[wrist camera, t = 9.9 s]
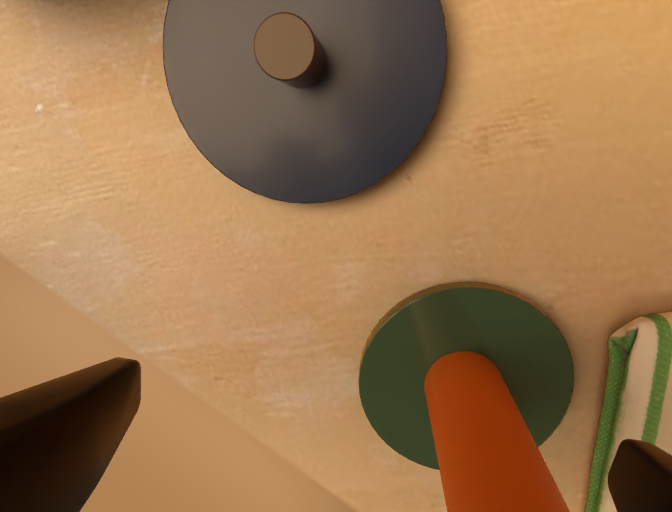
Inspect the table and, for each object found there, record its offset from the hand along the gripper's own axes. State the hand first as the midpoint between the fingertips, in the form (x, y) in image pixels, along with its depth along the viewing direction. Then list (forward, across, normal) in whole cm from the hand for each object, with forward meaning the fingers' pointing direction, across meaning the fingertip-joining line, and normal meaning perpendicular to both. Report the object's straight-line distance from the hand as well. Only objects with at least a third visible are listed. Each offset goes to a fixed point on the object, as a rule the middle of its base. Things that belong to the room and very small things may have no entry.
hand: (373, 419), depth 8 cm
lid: (+12, +4, -7) cm, 15 cm away
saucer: (+13, -5, +6) cm, 15 cm away
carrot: (+12, -5, +6) cm, 14 cm away
